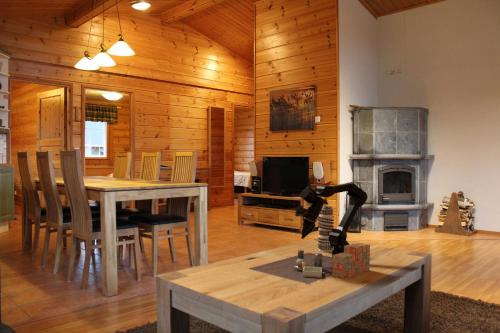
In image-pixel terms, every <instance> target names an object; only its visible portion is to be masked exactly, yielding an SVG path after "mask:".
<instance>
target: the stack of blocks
mask: <svg viewBox="0 0 500 333" xmlns="http://www.w3.org/2000/svg"><path fill="white" fill-rule="evenodd" d="M370 247H371V245H370V244H369V243H364V242H363V243H362V242H354V243H349V245H346V246H344V253H339V254H336V255H333V258H332V265H331V267H332V270H331V276H333V277H337V278H341V279H345V278H349V277H352V276H356V275H359V274H361V273H365V272H367V271H370V258H371V248H370Z"/></svg>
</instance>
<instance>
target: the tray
mask: <svg viewBox="0 0 500 333" xmlns="http://www.w3.org/2000/svg"><path fill="white" fill-rule="evenodd" d="M322 273H323V266H322V267H314V266H307V265H306V266H304V267H303V271H302V277H303V278H320V279H321V278H322V277H323V275H322Z"/></svg>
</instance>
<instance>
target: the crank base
mask: <svg viewBox="0 0 500 333" xmlns="http://www.w3.org/2000/svg"><path fill="white" fill-rule="evenodd" d="M304 266H307V262H306V261H303V262H302V266H296V264H294V265H293V267H292V268H293V271H295V272H303V267H304Z"/></svg>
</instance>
